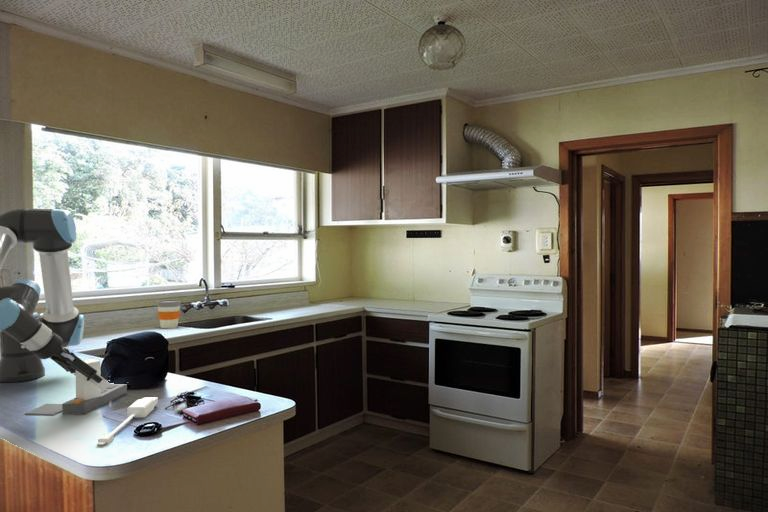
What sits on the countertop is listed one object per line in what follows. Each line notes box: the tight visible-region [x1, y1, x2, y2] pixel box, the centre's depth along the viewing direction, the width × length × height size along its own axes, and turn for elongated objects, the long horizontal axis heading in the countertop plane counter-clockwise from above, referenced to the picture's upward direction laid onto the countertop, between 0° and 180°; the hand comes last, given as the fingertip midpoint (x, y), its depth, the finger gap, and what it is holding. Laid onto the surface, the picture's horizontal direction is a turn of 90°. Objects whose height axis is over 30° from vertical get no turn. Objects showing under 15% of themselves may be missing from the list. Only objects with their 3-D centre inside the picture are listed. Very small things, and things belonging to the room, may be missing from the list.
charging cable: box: [96, 396, 159, 446], centre depth 150 cm, size 5×32×3 cm, turn 2°
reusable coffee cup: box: [156, 299, 181, 329], centre depth 308 cm, size 13×13×15 cm
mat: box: [24, 403, 63, 416], centre depth 162 cm, size 9×9×1 cm
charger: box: [75, 358, 102, 400], centre depth 165 cm, size 5×5×11 cm
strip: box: [61, 383, 128, 415], centre depth 173 cm, size 30×7×4 cm, turn 175°
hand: (99, 384), depth 168 cm, fingers open, 8 cm apart
